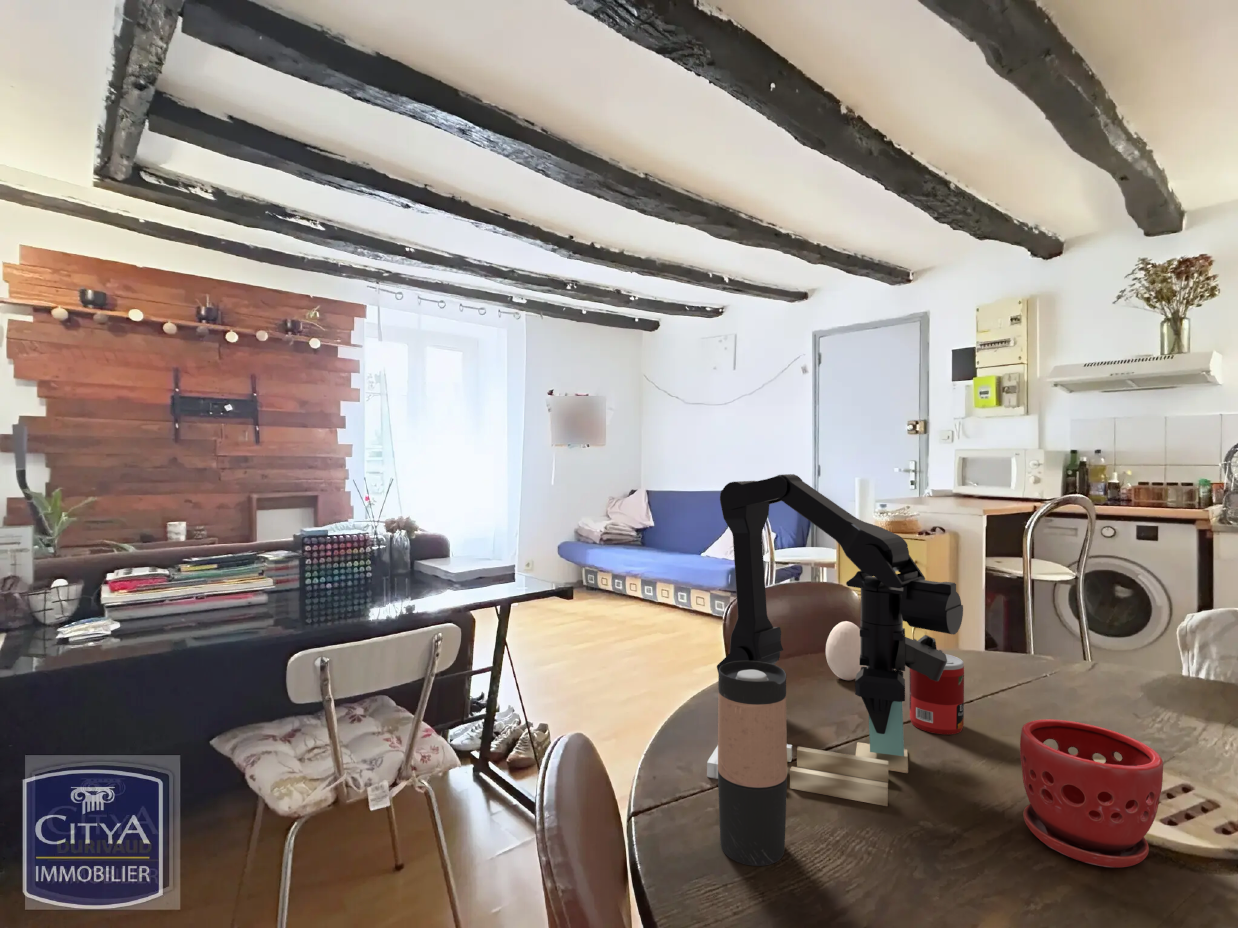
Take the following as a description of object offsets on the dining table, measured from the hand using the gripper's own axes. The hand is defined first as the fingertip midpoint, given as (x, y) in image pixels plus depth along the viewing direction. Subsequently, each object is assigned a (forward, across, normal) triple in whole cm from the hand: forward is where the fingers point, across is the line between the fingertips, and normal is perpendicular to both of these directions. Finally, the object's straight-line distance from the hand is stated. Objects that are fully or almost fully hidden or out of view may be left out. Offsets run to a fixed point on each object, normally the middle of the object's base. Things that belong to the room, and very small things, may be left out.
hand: (880, 727), depth 97 cm
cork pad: (+4, 0, 0) cm, 5 cm away
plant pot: (+5, -14, -22) cm, 27 cm away
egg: (+5, +34, +7) cm, 35 cm away
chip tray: (+4, -10, +17) cm, 20 cm away
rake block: (+3, 0, -1) cm, 3 cm away
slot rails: (+4, -10, +5) cm, 12 cm away
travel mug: (+5, -29, +13) cm, 32 cm away
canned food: (+5, +16, -8) cm, 19 cm away
